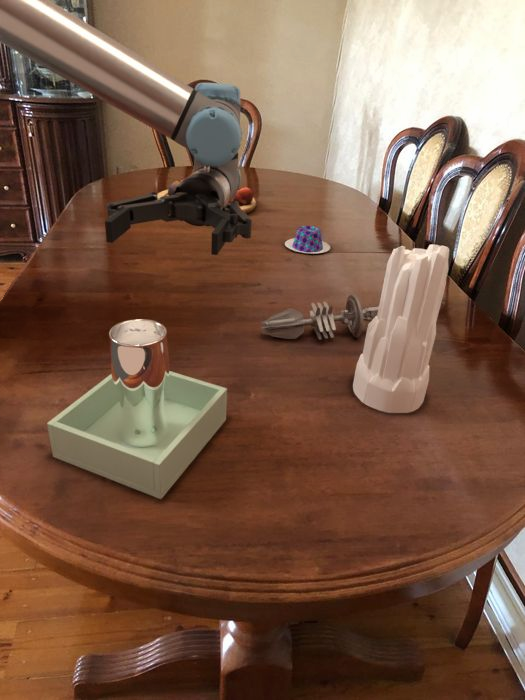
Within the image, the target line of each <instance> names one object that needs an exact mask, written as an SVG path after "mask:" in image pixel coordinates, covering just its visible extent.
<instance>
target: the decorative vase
mask: <svg viewBox="0 0 525 700" xmlns="http://www.w3.org/2000/svg"><path fill="white" fill-rule="evenodd" d="M449 257H450V248H449V247H448V246H445V245H439V244H434V243H432V244H429V245H428V247H427V248H426V249H425V248H418V247H415V248H412V250H410V249H406V246H404V245H401V246H399V247H397V248H395V247H394V248H393V250H392V251H391V254H390V256H389V258H388V260H387V263H386V268H385V273H384V279H383V284H382V287H381V288H382V289H381V294H380V300H379V303H378V307H379V309H378V314H377V316H375V318H374V319H373V320H372V321H371V322H368V324H367V329H366V334H365V339H364V344H363V348H362V349H363V350H362V353H360V355H359V358H358V360H357V362H356V365H355V371H354V376H353V382H352V390H353V393H354V395H355V397H356V398H357V399H358V400H359V401H360V402H361V403H362V404H364V405H366V406H367V407H370V408H372V409H374V410H376V411H379V412H383V413H388V414H409V413H412V412H415V411H416V410H418V409H419V408H420V407H421V406H422V405H423V403H424V401H425V397H426V393H427V389H428V385H429V383H430V365H429V363H430V359H431V356H432V352H433V348H434V344H435V340H436V337H437V336H436V335H437V321H438V317H439V313H440V310H441V309H440V306H441V302H443V299H444V298H443V297H444V294H445V289H446V285H447V277H448V273H449ZM439 309H440V310H439Z"/></svg>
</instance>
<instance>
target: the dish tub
mask: <svg viewBox="0 0 525 700" xmlns="http://www.w3.org/2000/svg"><path fill="white" fill-rule="evenodd" d="M227 402H228V388H227V387H223V386H220V385H217V384H214V383H211V382H207V381H204V380H200V379H197V378H195V377H191V376H188V375H184V374H181V373H177V372H174V371H170V370H169V379H168V386H167V392H166V397H165V405H164V410H165V417H166V420H167V424H168V434H167V436H166V438H165V439H164V440H163V441H161V442H160V443H158V444H156V445H153V446H149V447H135V446H132V445H129V444H127V443H126V442H125V441H124V440H123V439H122V437H121V428H122V419H123V417H122V409H121V405H120V402H119V398H118V395H117V392H116V389H115V386H114V382H113V378H112V374H111V373H110V374H109V375H108V376H106V377H105V378H104V379H102V380H101V381H100V382H98V383H97V384H96V385H94V386H93V387H92V388H91V389H89V390H88V391H87V392H86V393H84V394H83V395H82V396H80V397H79V398H78V399H76V400H75V401H74V402H73V403H71V404H70V405H69V406H68V407H66V408H64V410H62V411H61V412H60V413H58V414H57V415H56V416H54V417H53V418H51V419H50V420H49V421H48V422H47V423H46V426H47V432H48V436H49V442H50V447H51V452H52V457H53V458H55V459H58V460H60V461H63V462H65V463H67V464H70V465H73V466H76V467H78V468H81V469H83V470H85V471H88V472H90V473H93V474H96V475H99V476H100V477H103V478H105V479H108V480H111V481H114V482H116V483H118V484H121V485H124V486H126V487H129V488H131V489H134V490H136V491H139V492H141V493H144V494H146V495H149V496H151V497H154V498H156V499H159V500H162V499H163V498H164V496H165V495H167V493H168V492H169V490H170V489H171V488H172V487H173V486H174V484H175V483H176V482H177V481H178V479H179V478H180V477H181V476H182V475H183V473H184V472H185V471H186V469H187V468H188V467H189V465H191V463H193V462H194V460H195V458H196V457H197V456H198V455H199V454H200V452H202V450H203V449H204V448H205V447H206V445H207V443H208V442H209V441H210V440H211V439H212V438H213V436H214V435H215V434H216V433H217V432H218V430H219V429H220V428H221V427H222V426H223V424H224V423H225V422H226V420H227V407H228V405H227V404H228V403H227Z"/></svg>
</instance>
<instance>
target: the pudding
mask: <svg viewBox="0 0 525 700" xmlns="http://www.w3.org/2000/svg"><path fill="white" fill-rule="evenodd" d="M284 246H285V247H286V248H288V249H289V250H292V251H294V252H298V253H302V254H311V255H312V254H313V255H314V254H322V253H327V252H328V251H330V250H331V245H330V244H329V243H327V242H325V241H323V238H322V231H321V229H320V228H319V227H318V226H317V227H316V226H313V225H303V226H302V225H301V226H299V227H298V228H297V230H296V233H295V235H294V237H293V238H290V239H287V240H286V241H285V242H284Z"/></svg>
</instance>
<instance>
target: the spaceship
mask: <svg viewBox="0 0 525 700" xmlns="http://www.w3.org/2000/svg"><path fill="white" fill-rule="evenodd" d="M346 299H347V300H346V303H345V309H341V310H340V314H338V315H334V313H333V309H334V308H333V306H331V305H330V306H329V304H328V302H327V301H323V302H322V303H323V305H322V303H321V302H320V301H319V302H317V303H316V304H317V306H316V304H315V302H311V304H310V305H311V308H312V310H309V314H310V317H309V318H304V314H303V312H301V311H299V310H296V309H295V308H292V307H290V308H287V309H285V310H283V311H280V312H278V313H276V314H274V315H271V316H269V318H267V319H265V320H262V321H261V322H260V326H261V334H262V335H267V336H270V337H275V338H278V339H279V338H280V339H286V340H296V339H297V338H299V337H300V336H301V335H303V333H305V327H307V326H311V328H312V333H315V334H316V335H317V336H316V337H317V338H318V340H322V339H323V337H324V339H329V337H328V334H329V336H330V338H331V339H332V338H335V335H334V333H333V331H336V330H337V328H336V324H335V322H340V323H341V325H342V326H343V325H346V326H347V328H348V330H349V332H350V333H351V334H352V336H353V338H357V339H358V338H359V337H360V336H361V335H362V332H363V328H364V321H366V322H367V321H368V323H370V322H371V321H372V320H373V319H374V318H375V316H377V314H378V309H379V306H372V305H370V306H367V307H366V308H363V309H362V305H361V303H360V300H359V299H358V297H357V295H355V294H353V293H351V294H350V295H348V297H347V298H346ZM446 306H447V304H446V302H445V301H442V302H441V306H440V309H439V311H440V310H442V309H443V308H445V307H446ZM321 333H322V335H323V337H322V335H321ZM327 333H328V334H327Z"/></svg>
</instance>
